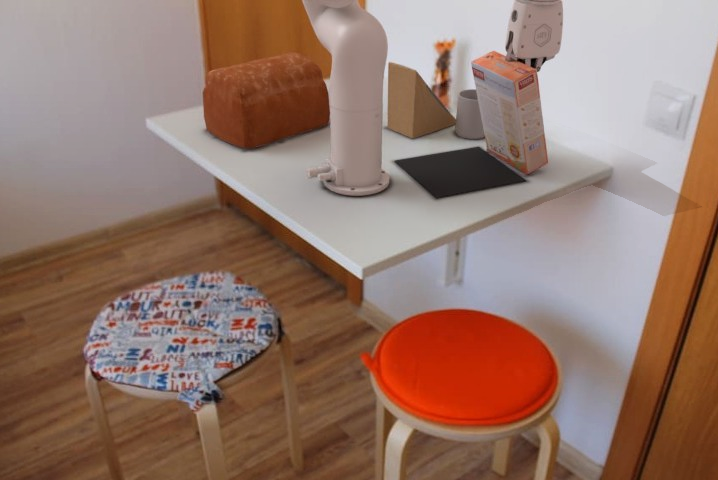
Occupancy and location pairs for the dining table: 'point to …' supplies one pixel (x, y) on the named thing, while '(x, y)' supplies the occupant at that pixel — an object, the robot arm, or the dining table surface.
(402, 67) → the sandwich container
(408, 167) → the mat
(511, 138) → the cracker box
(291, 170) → the dining table surface
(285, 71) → the bread
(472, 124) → the cup
